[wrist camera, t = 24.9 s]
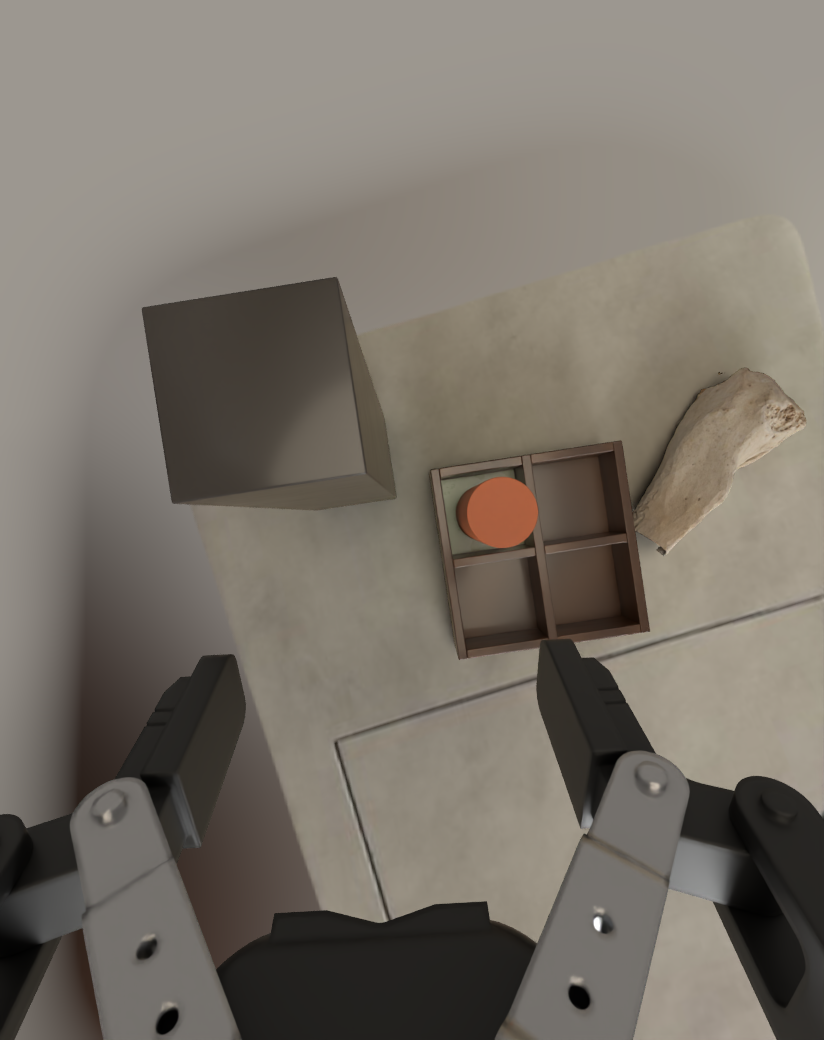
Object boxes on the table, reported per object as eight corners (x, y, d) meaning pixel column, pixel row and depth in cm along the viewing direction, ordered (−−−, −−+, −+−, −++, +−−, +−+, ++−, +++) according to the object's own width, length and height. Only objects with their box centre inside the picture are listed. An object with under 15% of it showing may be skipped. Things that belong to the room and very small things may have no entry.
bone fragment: (717, 365, 37) (761, 344, 32) (781, 424, 37) (834, 412, 32) (590, 502, 37) (616, 502, 33) (654, 561, 37) (689, 568, 33)
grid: (454, 646, 37) (458, 660, 34) (428, 474, 37) (430, 469, 34) (627, 620, 37) (650, 631, 34) (602, 447, 37) (621, 440, 33)
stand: (316, 510, 37) (170, 503, 15) (303, 429, 37) (140, 306, 15) (396, 498, 37) (367, 474, 15) (384, 417, 37) (337, 275, 15)
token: (460, 544, 36) (472, 553, 28) (451, 489, 36) (461, 482, 28) (515, 536, 36) (543, 542, 28) (507, 481, 36) (532, 471, 28)
